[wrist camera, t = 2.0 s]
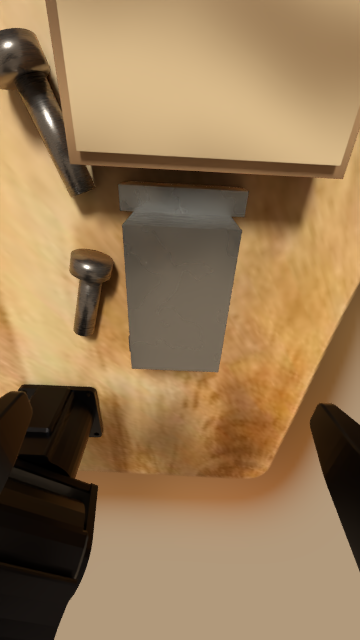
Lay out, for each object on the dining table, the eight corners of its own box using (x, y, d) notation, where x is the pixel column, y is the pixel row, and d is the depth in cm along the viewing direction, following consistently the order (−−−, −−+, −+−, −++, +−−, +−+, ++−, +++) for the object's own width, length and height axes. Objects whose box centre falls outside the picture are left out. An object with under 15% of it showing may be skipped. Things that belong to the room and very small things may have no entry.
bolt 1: (107, 183, 14) (91, 189, 12) (70, 197, 15) (49, 205, 13) (47, 41, 12) (14, 19, 10) (4, 66, 12) (-36, 50, 10)
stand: (314, 174, 14) (347, 179, 11) (90, 162, 14) (66, 164, 11) (408, -164, 9) (516, -316, 6) (49, -192, 9) (-17, -364, 6)
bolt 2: (103, 328, 20) (93, 348, 18) (70, 320, 19) (57, 339, 17) (117, 256, 17) (108, 271, 15) (79, 245, 16) (64, 258, 14)
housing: (217, 338, 20) (227, 387, 16) (134, 334, 20) (121, 382, 16) (241, 187, 15) (265, 200, 10) (125, 180, 15) (102, 191, 10)
